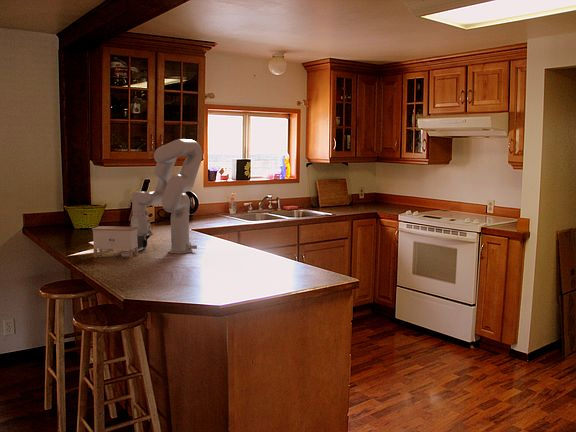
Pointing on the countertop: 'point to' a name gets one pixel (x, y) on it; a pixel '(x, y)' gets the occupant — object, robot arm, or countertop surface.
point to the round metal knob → (125, 254)
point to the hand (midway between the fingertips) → (140, 246)
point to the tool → (139, 243)
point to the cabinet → (115, 239)
